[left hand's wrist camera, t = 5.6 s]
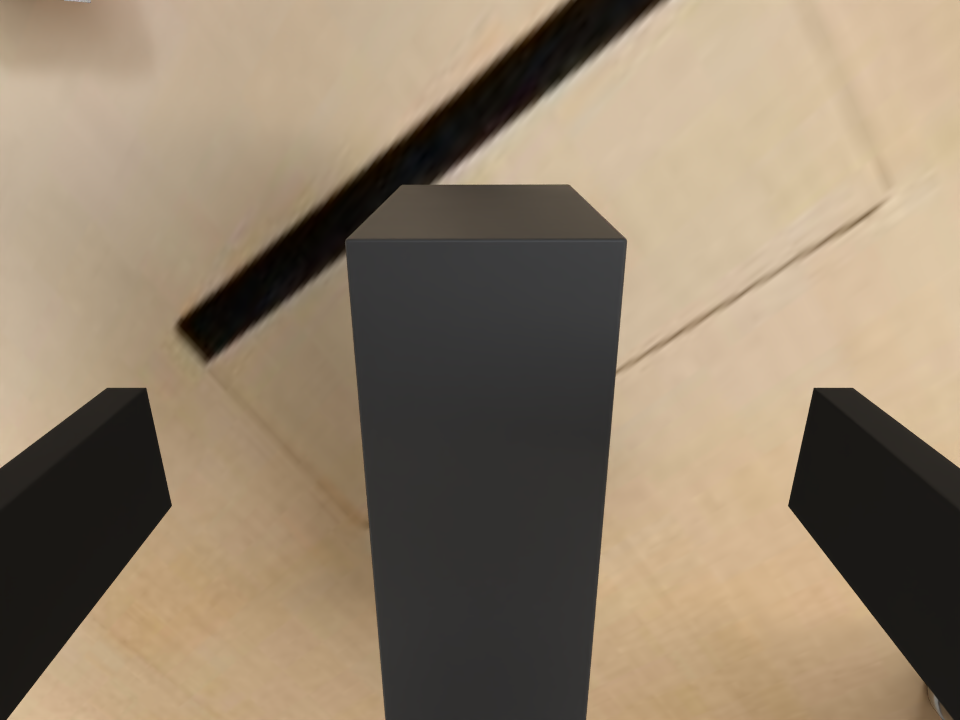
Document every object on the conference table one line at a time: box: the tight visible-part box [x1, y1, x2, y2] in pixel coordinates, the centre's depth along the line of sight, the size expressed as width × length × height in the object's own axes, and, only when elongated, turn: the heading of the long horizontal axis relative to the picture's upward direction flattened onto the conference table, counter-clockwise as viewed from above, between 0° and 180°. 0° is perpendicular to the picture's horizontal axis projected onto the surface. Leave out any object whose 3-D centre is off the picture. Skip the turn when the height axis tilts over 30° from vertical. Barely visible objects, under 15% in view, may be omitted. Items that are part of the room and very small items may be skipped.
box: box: [345, 185, 627, 720], centre depth 22 cm, size 25×6×9 cm, turn 0°
